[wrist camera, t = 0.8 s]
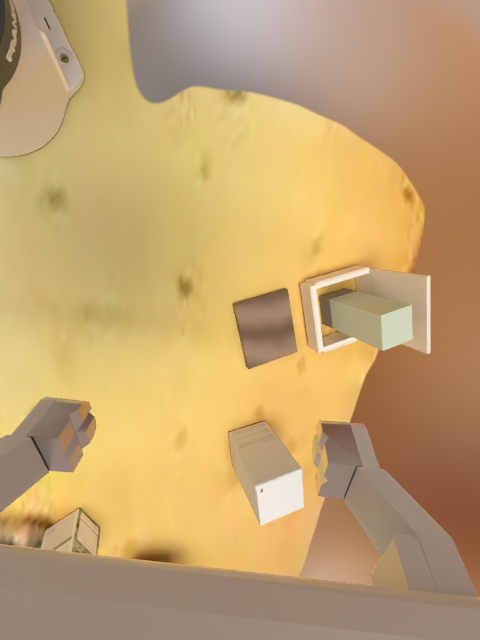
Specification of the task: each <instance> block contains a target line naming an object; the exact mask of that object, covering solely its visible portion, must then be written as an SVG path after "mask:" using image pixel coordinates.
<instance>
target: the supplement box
mask: <svg viewBox="0 0 480 640" xmlns="http://www.w3.org/2000/svg"><path fill="white" fill-rule="evenodd" d="M228 436H229V443H230V451H231V458H232V466H233V468H234V470H235V472H236V474H237V476H238V479H239V481H240V483H241V485H242V487H243V489H244V491H245V494H246V496H247V498H248V500H249V502H250V505H251V507H252V509H253V511H254V513H255V515H256V517H257V520H258V522H259V524H260V525H264V524H266V523H268V522H270V521H273V520H275V519H277V518H280V517H282V516H285V515H287V514H289V513H292V512H294V511H296V510H299V509H301V508H304V500H303V475H302V468H301V467H300V465H299V464H298V463H297V462H296V460H295V459H294V458H293V456H292V455H291V454H290V452H289V451H288V450H287V448H286V447H285V446H284V444H283V443H282V442H281V440H280V439H279V438H278V436H277V435H276V434H275V433H274V431H273V430H272V429H271V427H270V426H269V425H268V424H267V422H266V421H263V422H260V423H256V424H253V425H250V426H247V427H244V428H241V429H237V430H234V431H231V432H228Z"/></svg>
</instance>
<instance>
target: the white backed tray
mask: <svg viewBox="0 0 480 640" xmlns="http://www.w3.org/2000/svg"><path fill="white" fill-rule="evenodd" d="M354 277H355V280H356V291H357V292H361V293H365V294H369V295H373V296H378V297H382V298H386V299H390V300H394V301H399V302H403V303H407V304H411V305H412V334H413V339H412V340H410V341H407V342H404V343H402V344H403V345H406V346H408V347H411V348H413V349H416V350H419V351H421V352H424V353H426V354H428V353H430V276H429V275H421V274H413V273H405V272H397V271H389V270H381V269H373V268H369V267H366V266H358V265H356V266H352V267H349V268H345V269H342V270H338V271H335V272H332V273H328V274H325V275H321V276H318V277H314V278H311V279H308V280H305V282H303V283H300V289H301V296H302V303H303V310H304V317H305V324H306V331H307V338H308V345H309V347H310V348H312V349H313V350H315V351H316V352H318V353H319V352H323V353H325V352H328V351H331V350H334V349H336V348H339V347H342V346H344V345H347V344H350V343H353V342H355V341H358V339H356V338H353V337H351V336H349V335H347V334H344V333H342V332H340V331H339V332H336V333H333V334H330V335H327V336H324V337H322V333H321V325H320V318H319V310H318V302H317V294H316V289H318V288H321V287H324V286H328V285H331V284H334V283H338V282H341V281H344V280H347V279H351V278H354Z"/></svg>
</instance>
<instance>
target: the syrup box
mask: <svg viewBox="0 0 480 640" xmlns="http://www.w3.org/2000/svg"><path fill="white" fill-rule="evenodd" d="M99 537H100V528H99V527H98V526H97V525H96V524H95V523H94V522H93V521H92V520H91V519H90V518H89V517H88V516H87V515H86V514H85V513H84V512H83V511H82V510H81V509H77V510H76V511H74V512H72V513H71V514H69V515H67V516H66V517H64V518H63V519H61V520H60V521H58V522H57V523H55V524H54V525H52V526H51V527H49V528H48V529H46V531H45V534H44V538H43V542H42V545H41V549H48V550H57V551H66V552H75V553H84V554H93V555H98V547H99Z"/></svg>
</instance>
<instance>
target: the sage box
mask: <svg viewBox="0 0 480 640" xmlns="http://www.w3.org/2000/svg"><path fill="white" fill-rule="evenodd" d="M319 301H320V309H321V317H322V324H324V325H327V326H329V327H331V328H333V329H336V330H338V331H340V332H342V333H344V334H347V335H349V336H351V337H353V338H356V339H358V340H360V341H362V342H364V343H367V344H369V345H371V346H373V347H376V348H378V349H380V350H382V351H384V350H386V349H389V348H391V347H394V346H397V345H399V344H402V343H404V342H407V341H410V340H412V339H413V334H412V305H411V304H407V303H403V302H399V301H394V300H390V299H386V298H382V297H378V296H373V295H369V294H365V293H361V292H357V291H352V290H348V289H341V290H337V291H334V292H331V293H328V294H324V295H321V296H319Z"/></svg>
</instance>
